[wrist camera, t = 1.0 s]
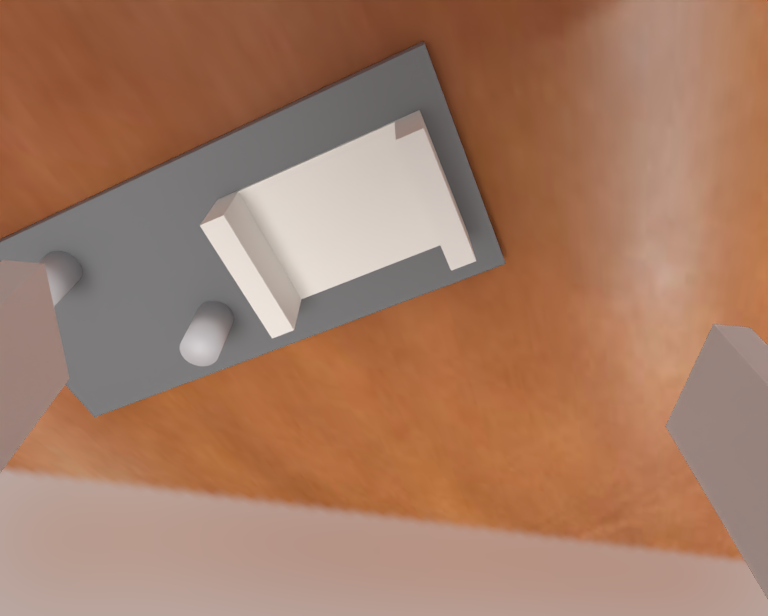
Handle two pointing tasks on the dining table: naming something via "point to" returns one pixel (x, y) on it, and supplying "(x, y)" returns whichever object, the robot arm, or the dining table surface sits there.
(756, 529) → the robot arm
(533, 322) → the dining table surface
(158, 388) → the board
